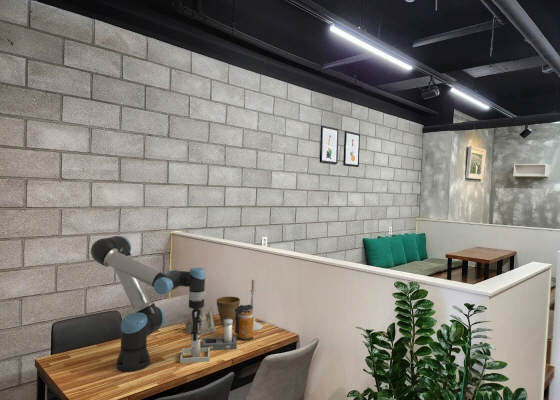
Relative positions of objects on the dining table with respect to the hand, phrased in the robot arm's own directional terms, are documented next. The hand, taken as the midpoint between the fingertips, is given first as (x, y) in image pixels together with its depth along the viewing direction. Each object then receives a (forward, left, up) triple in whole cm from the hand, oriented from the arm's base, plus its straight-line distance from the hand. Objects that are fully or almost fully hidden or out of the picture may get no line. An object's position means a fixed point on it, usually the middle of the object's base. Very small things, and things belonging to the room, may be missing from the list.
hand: (195, 341), depth 190 cm
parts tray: (0, 0, -9) cm, 9 cm away
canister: (+26, +22, -9) cm, 35 cm away
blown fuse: (0, 0, -8) cm, 8 cm away
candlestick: (+33, +42, -9) cm, 54 cm away
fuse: (+17, +12, -8) cm, 22 cm away
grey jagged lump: (+2, +38, -9) cm, 39 cm away
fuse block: (+12, +12, -9) cm, 19 cm away
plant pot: (+18, +48, -9) cm, 52 cm away
